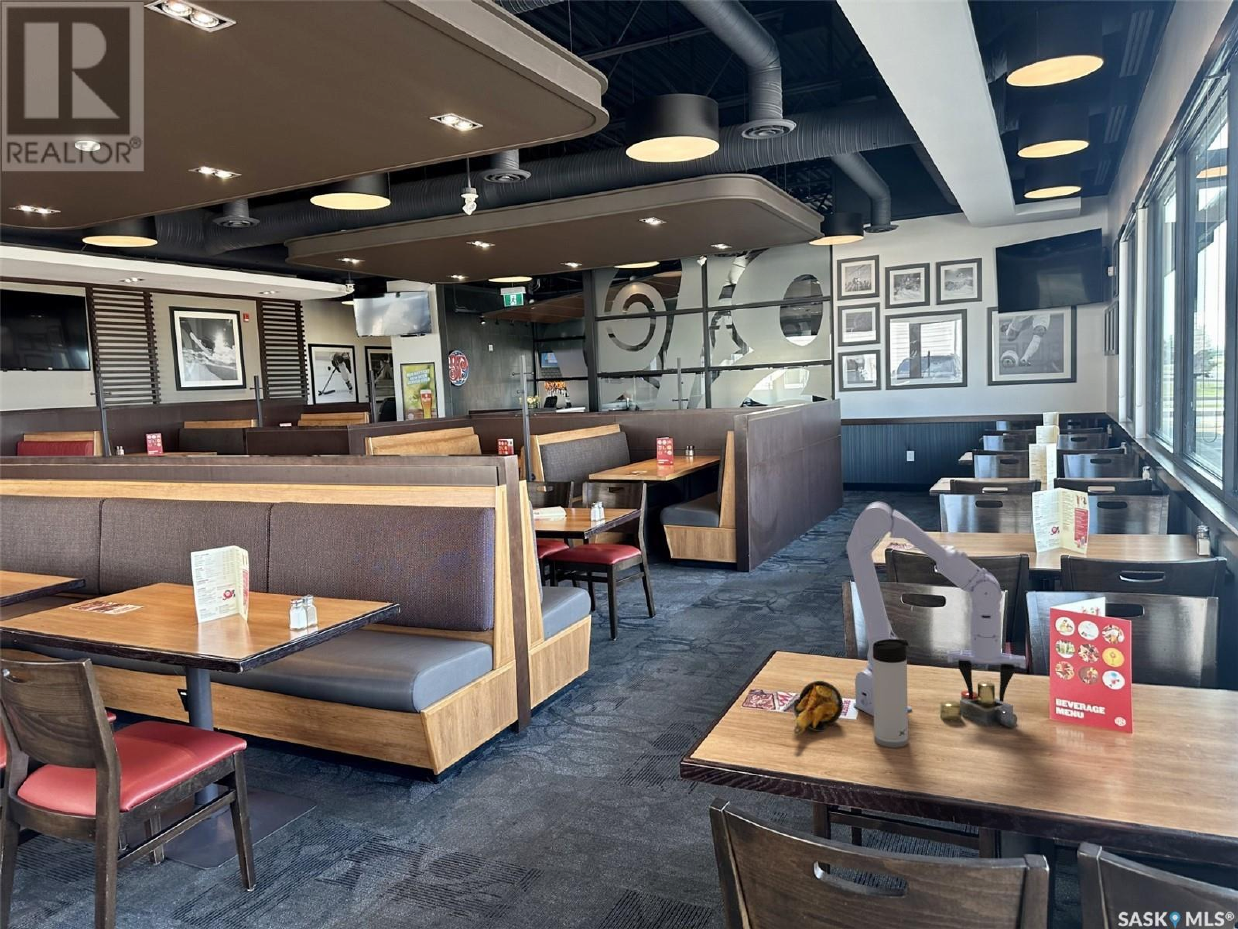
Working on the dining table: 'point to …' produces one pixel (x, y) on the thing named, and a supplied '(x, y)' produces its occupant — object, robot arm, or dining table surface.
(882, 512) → the robot arm
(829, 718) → the fried food
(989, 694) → the brass nipple
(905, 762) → the dining table surface
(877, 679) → the travel mug
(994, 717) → the valve body
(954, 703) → the brass union nut
